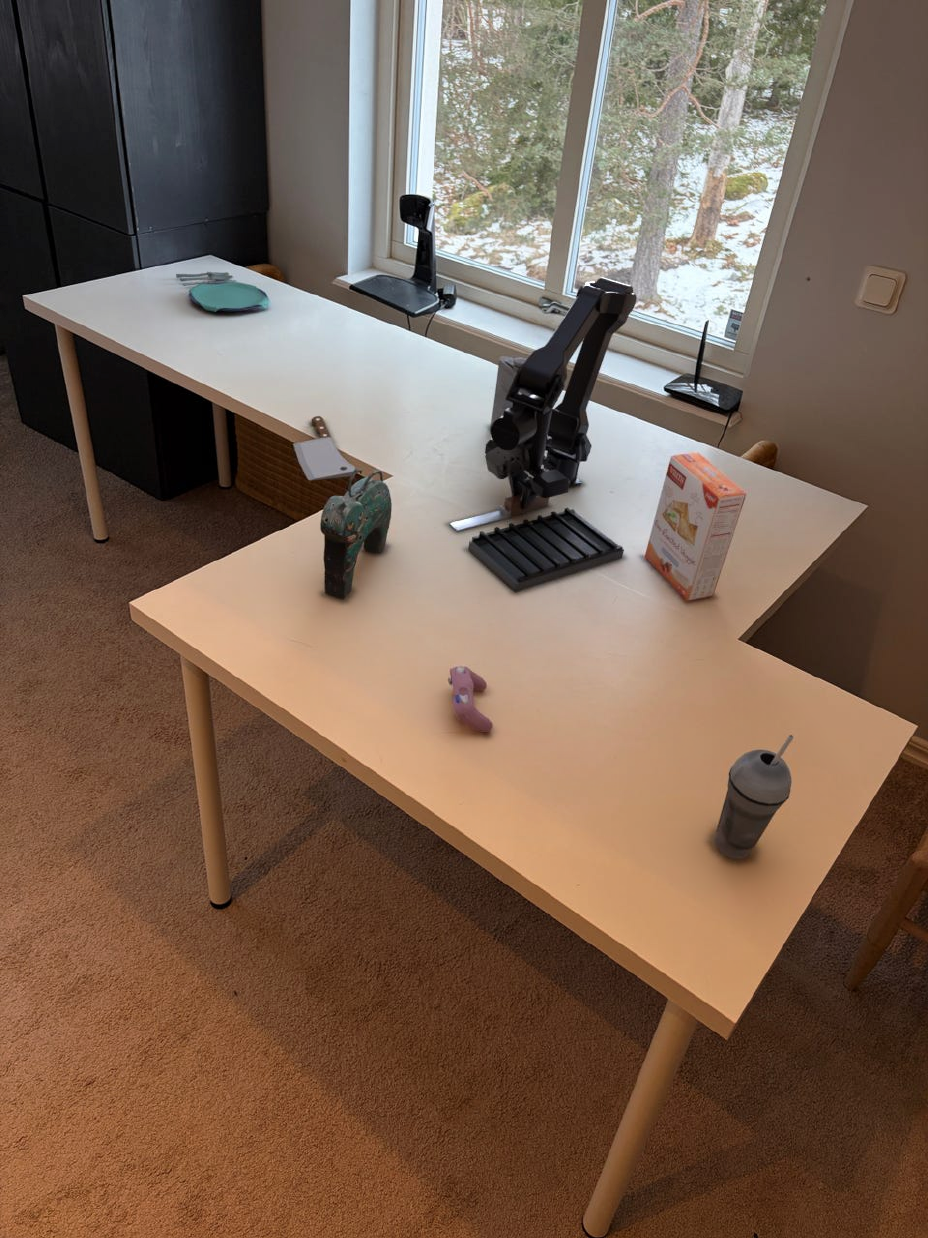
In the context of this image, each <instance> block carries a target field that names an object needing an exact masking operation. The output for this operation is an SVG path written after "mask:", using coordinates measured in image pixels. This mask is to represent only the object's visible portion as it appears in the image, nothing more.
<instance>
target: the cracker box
mask: <svg viewBox="0 0 928 1238" xmlns="http://www.w3.org/2000/svg"><path fill="white" fill-rule="evenodd" d="M659 496H660V498H659V499H658V503H657V508H656V512H655V515H654V519H653V523H652V527H651V531H650V534H649V539H648V542H647V544H646V545H647V546H646V550H645V553H644V558H646V559H647V561H648V562H650V564H651V565H653V567H654V568H655V569H656V570H657V571H658V573H659V574H661V575H662V577H663V578H664V579H665V580H666V581H667V582H668V583H669V584H670V585H671V587H673V588H674V589H675V591H677V592H678V593H679V595H680V596H682V599H684V600H685V601H686V602H689V601H690V602H691V601H694V600H701V599H705V598H706V599H707V598H710V597H714V595H715V592H716V589H717V586H718V583H719V580H720V577H721V574H722V571H723V567H724V565H725V562H726V558H727V555H728V552H729V548H730V546H731V542H732V540H733V537H734V534H735V531H736V528H737V525H738V521H739V518H740V515H741V513H742V509H743V507H744V503H745V500H746V497H747V492H746V491H745V490H744V489H742V488H741V487H740V486H738V485H737V484H736V483H735V482H734V481H732V480H731V478H729V477H728V475H725V473H724V472H722V471H721V470H720V469H718V468H717V467H716V465H714V464H713V463H711V462H710V461H709V460H708V459H707V458H706V457H704V455H702V454H701V453H700V452H698V451H697V452H689V453H680V454H675V455H671V456H670V460H669V462H668V466H667V470H666V474H665V478H664V480H663V485H662V489H661V493H660V495H659Z"/></svg>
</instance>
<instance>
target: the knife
mask: <svg viewBox="0 0 928 1238" xmlns="http://www.w3.org/2000/svg"><path fill="white" fill-rule="evenodd" d="M549 500H550V497H549V498H542V497H540V496H539V495H537V496H536V498H535V499H534V500H533V502H532V503H531V504H530V505H529V507H528V508H527V509H525V510H522V508H521V502H522V494H520V495H516V496H512V495H511V496H508V497H505V498H504V505H500V506H499V510H494V511H491V512H488V513H484V514H480V515H476V516H472V517H469V518H465V519H461V520H458V521H453V522H450V523H449V526H450V527H451V528H452V529H454V530H455V531H456V532H457V533H458V532H461V531H466V530H469V529H472V528H473V529H474V528H476V527H480V526H483V525H487V524H491V523H494V522H498V521H503V520H506V519H509V518H511V517H514V516H518V515H522V514H526V513H529V512H532V511H537V510H539V509H543V508H547V507H549Z"/></svg>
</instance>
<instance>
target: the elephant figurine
mask: <svg viewBox="0 0 928 1238" xmlns="http://www.w3.org/2000/svg"><path fill="white" fill-rule="evenodd" d="M358 473H359V474H360V475H361V474H362V473H363V469H360V468H357V469H355V471H354V472H353V473H352V475H351V476H349V479H348V487H347V491H346V492H345V494H344V495H333V496H331V497H329V498H328V500H327V501H326V503H325V504H324V507H323V508H322V509H323V510H322V513H321V516H320V522H319V523H320V527H319V529H320V533H322V535H324V537H323V538H324V542H323V543H324V545H323V548H324V549H323V566H324V573H323V574H324V575H323V576H324V577H323V578H324V580H323V583H324V594H325V595H329V596H331V597H333V598H337V599H341V600H345V599H346V598H347V596H348V595H349V594H350V593H351V592H352V587H353V581H354V576H355V575H354V574H355V569H356V565H357V562H358V557H359V554H360V551H361V549H362V548H363V551H366V552H370V553H372V554H381V553H382V552H383V551H384V550H385V548H386V544H387V537H388V533H389V529H390V525H391V519H392V508H393V507H392V506H393V504H392V496H391V493H390V492H391V491H390V489H389V486H388V485H387V484H386V482H384V478H383V472H382V470H379V469H377V470H374V471H373V472H371V473H370V474H369V475H368V476H367V477H363V478H360V480H358V481H356V482H355V483H354V484H352V482H353V480H354V478H355V476H356V474H358ZM377 474H379V476H380V477H379V479H376V478H373V477H374V476H376V475H377ZM351 484H352V485H351Z"/></svg>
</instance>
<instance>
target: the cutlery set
mask: <svg viewBox="0 0 928 1238" xmlns="http://www.w3.org/2000/svg"><path fill="white" fill-rule="evenodd" d="M203 276H208V277H203ZM175 278H177V279H179V281H180V282H189V281H202V282H195V283H183V284H182V286H183V287H184V288H185V287H186V286H193V287H191V288H190V289H188V292H189V293H188V297H189V298H190V301H191V302H193V303H194V304H195V305H197V306H200V307H202V308H203V309H204V310H206V311H210V312H214V313H217V311H222V312H243V311H250V310H253V309H254V310H255V309H256V308H259V307H261V306H262V307H263V310H266V309H267V308H268V306H269V305H270V298H269V297H268V295H267V293H266V292H265V291H263V290H262V289H260V288H258V287H257V286H256V285H253V284H249V283H243V282H240V281H237V279H235V280H234V279H233V278H234V276H233V275H230V273H229V272H228V271H225V272H214V271H206V272H202V273H176V274H175ZM231 279H233V280H231ZM206 280H207V281H206Z"/></svg>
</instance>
